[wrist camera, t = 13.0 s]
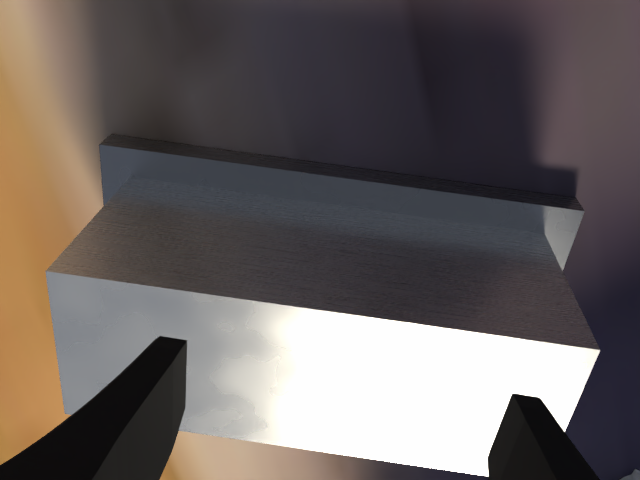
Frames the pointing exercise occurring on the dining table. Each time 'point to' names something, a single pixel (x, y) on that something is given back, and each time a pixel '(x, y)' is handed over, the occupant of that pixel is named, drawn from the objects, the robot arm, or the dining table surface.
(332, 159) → the dining table surface
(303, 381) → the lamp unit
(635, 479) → the decorative block
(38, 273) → the dining table surface
